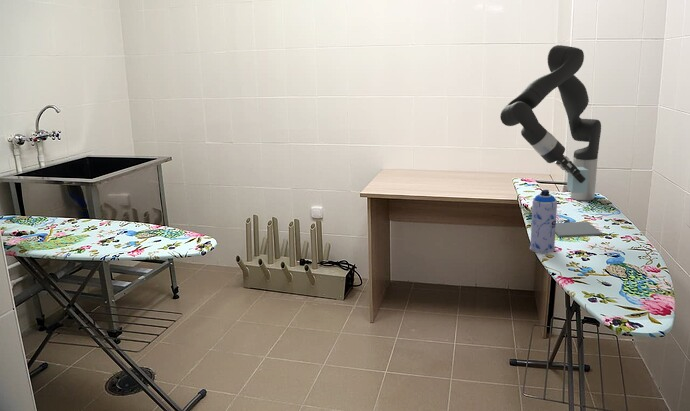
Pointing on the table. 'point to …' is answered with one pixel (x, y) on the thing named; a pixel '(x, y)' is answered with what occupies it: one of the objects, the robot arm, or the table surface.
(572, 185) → the block
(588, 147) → the robot arm
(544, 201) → the aerosol can
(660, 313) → the table surface
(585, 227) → the mat
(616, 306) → the table surface
